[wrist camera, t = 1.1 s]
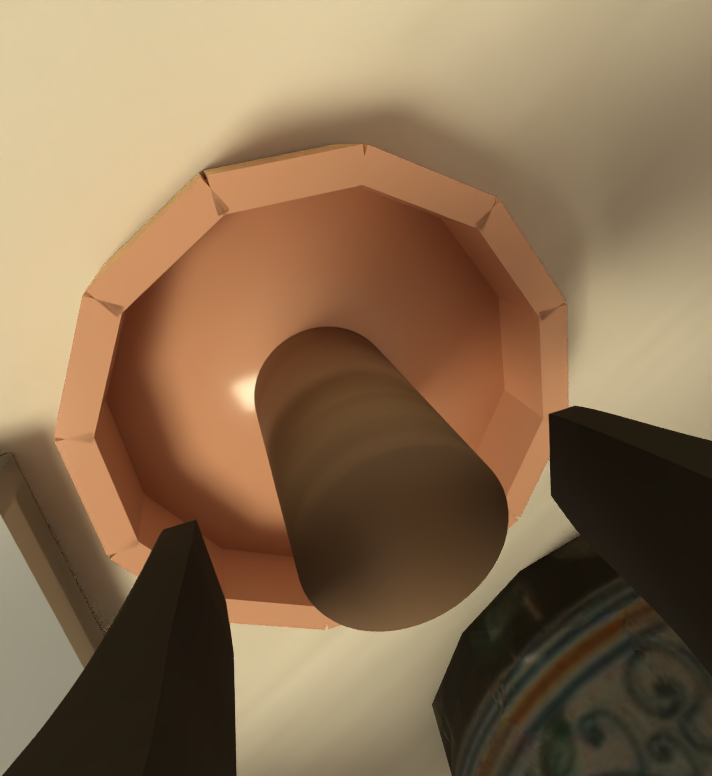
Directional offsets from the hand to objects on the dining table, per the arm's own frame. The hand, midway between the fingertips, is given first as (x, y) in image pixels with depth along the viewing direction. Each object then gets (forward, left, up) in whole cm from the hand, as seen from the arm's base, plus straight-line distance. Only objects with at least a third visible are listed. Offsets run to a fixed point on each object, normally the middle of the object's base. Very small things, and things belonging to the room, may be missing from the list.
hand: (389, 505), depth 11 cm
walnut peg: (0, 0, -6) cm, 6 cm away
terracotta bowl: (0, 0, -7) cm, 7 cm away
